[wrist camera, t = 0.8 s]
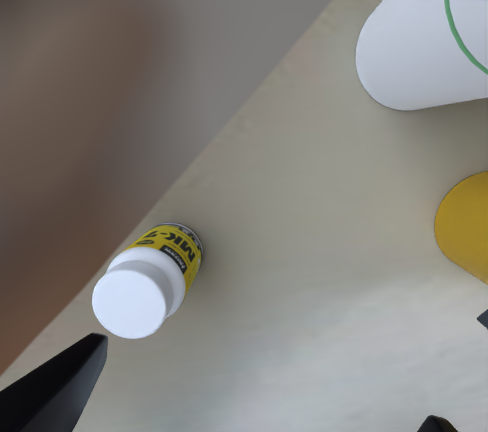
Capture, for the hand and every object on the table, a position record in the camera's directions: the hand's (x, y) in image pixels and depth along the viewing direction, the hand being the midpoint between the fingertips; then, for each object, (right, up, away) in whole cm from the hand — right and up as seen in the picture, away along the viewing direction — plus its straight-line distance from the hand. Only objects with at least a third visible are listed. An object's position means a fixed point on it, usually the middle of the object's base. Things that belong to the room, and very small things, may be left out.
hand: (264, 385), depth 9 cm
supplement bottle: (-6, +2, +16) cm, 18 cm away
